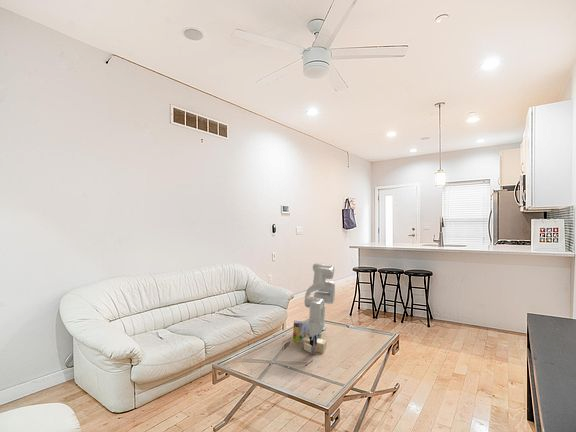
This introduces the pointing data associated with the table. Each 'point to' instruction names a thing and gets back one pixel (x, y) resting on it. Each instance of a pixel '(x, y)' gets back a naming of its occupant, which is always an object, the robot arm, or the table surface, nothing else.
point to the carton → (320, 344)
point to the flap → (309, 347)
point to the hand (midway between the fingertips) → (313, 344)
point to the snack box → (300, 331)
